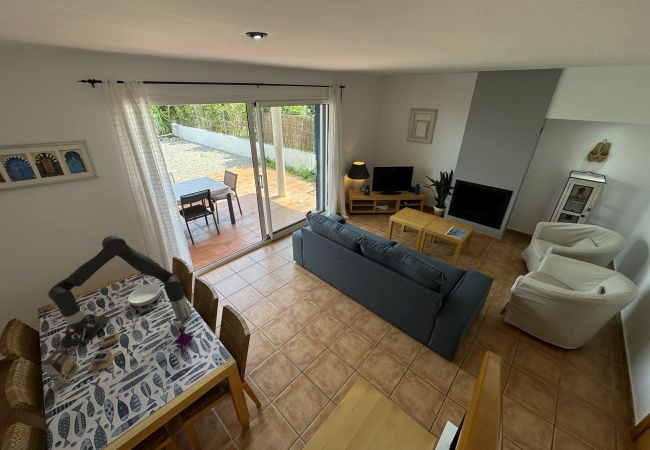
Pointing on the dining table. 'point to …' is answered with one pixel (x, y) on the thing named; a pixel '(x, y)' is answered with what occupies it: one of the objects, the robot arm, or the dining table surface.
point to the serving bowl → (144, 295)
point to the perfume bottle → (183, 335)
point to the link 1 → (110, 340)
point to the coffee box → (60, 366)
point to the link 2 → (96, 359)
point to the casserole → (98, 325)
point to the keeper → (104, 365)
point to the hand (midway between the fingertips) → (89, 338)
